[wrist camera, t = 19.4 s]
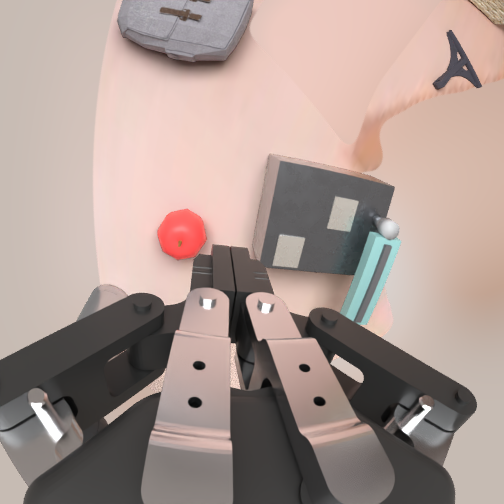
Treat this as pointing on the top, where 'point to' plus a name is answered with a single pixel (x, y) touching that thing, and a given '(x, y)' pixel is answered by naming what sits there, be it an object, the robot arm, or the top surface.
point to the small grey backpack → (186, 26)
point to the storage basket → (491, 9)
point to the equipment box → (317, 216)
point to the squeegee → (457, 65)
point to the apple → (182, 234)
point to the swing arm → (372, 272)
